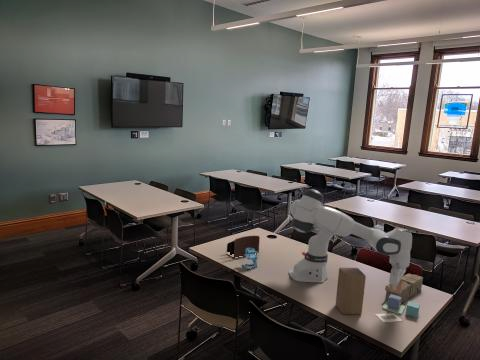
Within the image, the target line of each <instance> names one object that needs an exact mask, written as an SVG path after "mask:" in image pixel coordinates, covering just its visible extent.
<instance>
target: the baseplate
mask: <svg viewBox="0 0 480 360" xmlns="http://www.w3.org/2000/svg"><path fill="white" fill-rule="evenodd" d="M405 308H406V306H405V305H403V304H402V303H401V297H399V296H396V295H392V294H391V295H390V296H389V299H388V300H386V301H385V302H384V304H383V305H382V307H381V309H382V310H384V311H388V312H389V313H393V312H394V314H396V315H400V316H402V315H403V313H404V311H405Z"/></svg>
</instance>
